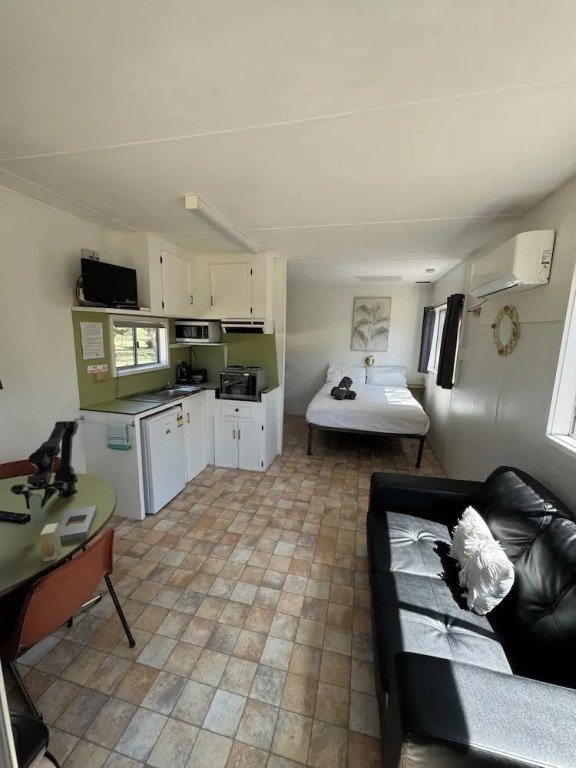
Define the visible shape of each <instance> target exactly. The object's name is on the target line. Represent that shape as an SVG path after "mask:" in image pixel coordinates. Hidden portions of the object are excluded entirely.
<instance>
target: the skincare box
mask: <svg viewBox="0 0 576 768" xmlns="http://www.w3.org/2000/svg"><path fill="white" fill-rule="evenodd" d="M59 525H60V523H59V522H55V523H49V524H45V525H44V526H43V528H42V530H41V532H40V534H39V535H40V536H39V537H40V545H41V552H42V553H41V554H42V562H43V563H44V562H49V561H56V560H57V559H58V556H59V554H60V552H61V551H62V550H61V549H62V542H60V533H59Z"/></svg>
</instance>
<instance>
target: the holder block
mask: <svg viewBox="0 0 576 768" xmlns="http://www.w3.org/2000/svg"><path fill="white" fill-rule="evenodd" d="M97 512H98V506H97V505H91V506H85V507H84V506H83V507H78V508H70V509H66V511H65V513H64V515H63V518H61V521H60V523H59V533H60V543H65V542H69V541H77V540H81V539H88V536H89V534H90V531H91V529H92V526H93V523H94V520H95V518H96V516H97Z"/></svg>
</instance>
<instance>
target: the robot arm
mask: <svg viewBox="0 0 576 768" xmlns="http://www.w3.org/2000/svg"><path fill="white" fill-rule="evenodd" d="M78 429H79V423H78V422H76V421H75V420H63V421H62V420H58V421H56V422H55V423H54V427H53V430H52V431H51V433H50V435H49V437H48V439H47V440H46V441H44V442H42V444H41V445H40V446H39V448H36V450H35V451H34V452H32V453H30V455H29V456H28V459H27V460H28V462H29V463H30V464H31V465H32V466H34V467H35V469H36V470H35V472H33V475H27V481H26V484H27V485H29V486H27V485H26V484H24V483H22V484H14V485H12V486H11V487H10V490H9V491H10V492H11V493H12V494H13V495H15V496H16V495H17V496H19V495H21V496H22V495H23V496H24V498H25V504H26V505H25V506H26V509H27V510H30V507H29V499H30V497H31V496H32V495H34V493H32V492H33V491H41V490H44V494H43V501H42V505H41V507H42V508H43V507H44V508H45V506H46V504H47V503H48V502H49V501H50V500H51V498H52V497H53V496H54V494H57V496H60V497H64V498H69V497H71V496H72V495H74V494H76V493H78V489H76V483H78V482H79V481H78V475H77V473H76V472H75V469H74V467H73V466H72V454H73V438H74V436H75V435H76V434H77V431H78ZM60 443H61V447H60ZM59 455H60V462H59V464H60V465H59V466H58V468H57V469H56V470H55V471H54V472H55V475H54V477H53V475H52V473H53V470H54V465H55V464H56V463H55V460H54V459H53V458H56V457H58V456H59ZM52 478H53V482H52V484H50V483H51V479H52Z"/></svg>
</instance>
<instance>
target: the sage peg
mask: <svg viewBox="0 0 576 768" xmlns="http://www.w3.org/2000/svg"><path fill="white" fill-rule="evenodd" d="M33 494H34V493H33ZM43 498H44V496H43V495H41V494H39V493H35V494H34V495H32V496H31V497H30V499H29V507H30V508H29V515H30V516H29V517H30V523H31V524H34V525H35V524H39V523H41V522H42V523H43V521H45V519H46V518H45V510H44V509H45V506H44V507H43V508H42V507H41V505H42V501H43Z"/></svg>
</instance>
